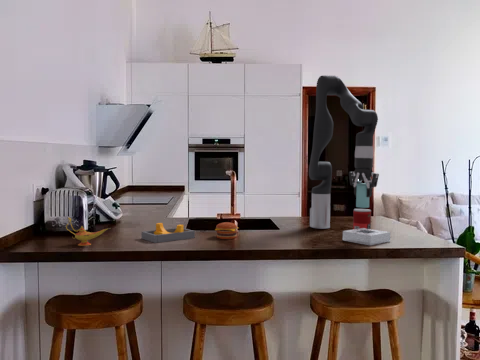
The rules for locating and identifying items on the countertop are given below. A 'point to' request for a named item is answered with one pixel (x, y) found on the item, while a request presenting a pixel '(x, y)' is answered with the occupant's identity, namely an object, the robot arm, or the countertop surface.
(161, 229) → the pipe clamp
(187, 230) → the tray
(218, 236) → the hamburger
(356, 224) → the canned food
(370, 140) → the robot arm
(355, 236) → the housing
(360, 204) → the teal cylinder
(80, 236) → the magic lamp
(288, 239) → the countertop surface
